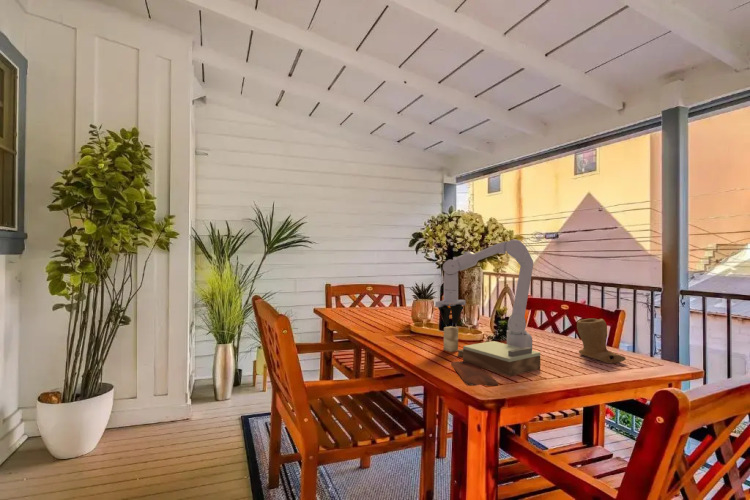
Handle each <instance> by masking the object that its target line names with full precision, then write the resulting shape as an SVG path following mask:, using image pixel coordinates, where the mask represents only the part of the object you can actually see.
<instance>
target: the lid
mask: <svg viewBox="0 0 750 500" xmlns="http://www.w3.org/2000/svg"><path fill="white" fill-rule="evenodd" d="M462 349H466V350H469V351H473V352H476V353H480V354H483V355H487V356H490V357H494V358H497V359H500V360H504V361H507V362H512V361H517V360H521V359H526V358H531V357H535V356H540V357H541V352H540V351H535V350H533V347H532V348H529V347H526V348H520V347H516V346H512V345H508V344H507V343H503V342H499V341H497V340H496V341H495V340H492V341H486V342H480V343H472V344H468V345H463V347H462Z"/></svg>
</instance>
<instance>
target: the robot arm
mask: <svg viewBox="0 0 750 500" xmlns="http://www.w3.org/2000/svg"><path fill="white" fill-rule="evenodd" d="M506 253H507V254H508V255H509V256H511V258H513V259H515V261H516V262H517V263H518V264H519V271H518V272H519V273H518V279H517V285H516V291H515V296H514V301H513V302H514V303H513V308H512V313H511V315H510V316H509V318H508V321H507V328H508V329H507V330H506V344H508V345H512V346H516V347H520V348H526V347H529V348H532V349H533V337H532V335H531V334H530V333H529V332H527V330H526V326H527V325H526V322H527V321H526V318H525V316H526V311H527V310H526V309H527V304H528V303H527V302H528V297H529V293H530V287H531V286H530V285H531V281H532V275H533V271H534V269H533V268H534V260H533V258H532V256H531V254H530V252H529V250H528V248H527V246H526V245H525V244H524V243H523V242H521V241H520V240H519V239H517V238H514V239H513V238H512V239H510V240H509V241H503V242H498V243H496V244H493V245H491V246H489V247H486V248H484V249H482V250H480V251H478V252H472V251H464V252H463V254H461V255H459V256H453V257H452V259H447V260H446V261H445V262H444V263H443V264H442V269H443V271H444V272H443V275H444V276H443V299H442V300H439V301H435V303H434V305H435V307H437V309H438V310H439V312H440V314H441V317H442V322H443V324H444V325H445V326H446V325H447V326H449V324H450V315H451V322H452V324H455V325H457V324H458V322H459V319H460V315H461V312H462V311H463V310H464V306H466V299H459V271H461V272H462V271H464V270H468V269H469V268H473V267H475V266H477V263H478V261H481V260H483V259H486V258H489V257H491V256H494V255H497V254H500V255H506Z"/></svg>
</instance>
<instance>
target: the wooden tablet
mask: <svg viewBox="0 0 750 500" xmlns="http://www.w3.org/2000/svg"><path fill="white" fill-rule="evenodd" d="M450 365H451V367H452V368H453V370H455V371H456V373H457V374H458V376H459V377H460V378H461V379H462V381H463V382H464V383H465V384H466V385H467V386H479V385H481V386H487V387H488V386H491V387H495V386H499V383H498V381H497V380H496V379H495V378H494V377H493V376H492V375H490V374H489V373H488V371H486V370H485V369H484V368H481V367H479V366H477V365H475V364H472V363H468V362H464V361H463V360H460V361H451V362H450Z"/></svg>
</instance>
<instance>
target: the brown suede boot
mask: <svg viewBox="0 0 750 500" xmlns="http://www.w3.org/2000/svg"><path fill="white" fill-rule="evenodd" d="M576 329H577V332H578V334H579V337H580V339H581V342H582V345H583V346H582V347H583V348H582V349H580V350H578V354H580V355H582V356H585V357H588V358H591V359H593V360H597V361H600V362H603V363H607V364H618V363H621V362H625V361H626V359H627V358H626V357H625V356H623V355H621V354H617V353H614V352H612V351H609V350H608V349H607V340H608V339H607V338H608V326H607V322H606V321H605V319H603V318H599V319H597V318H585V319H579V320H578V321H577V322H576Z"/></svg>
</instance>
